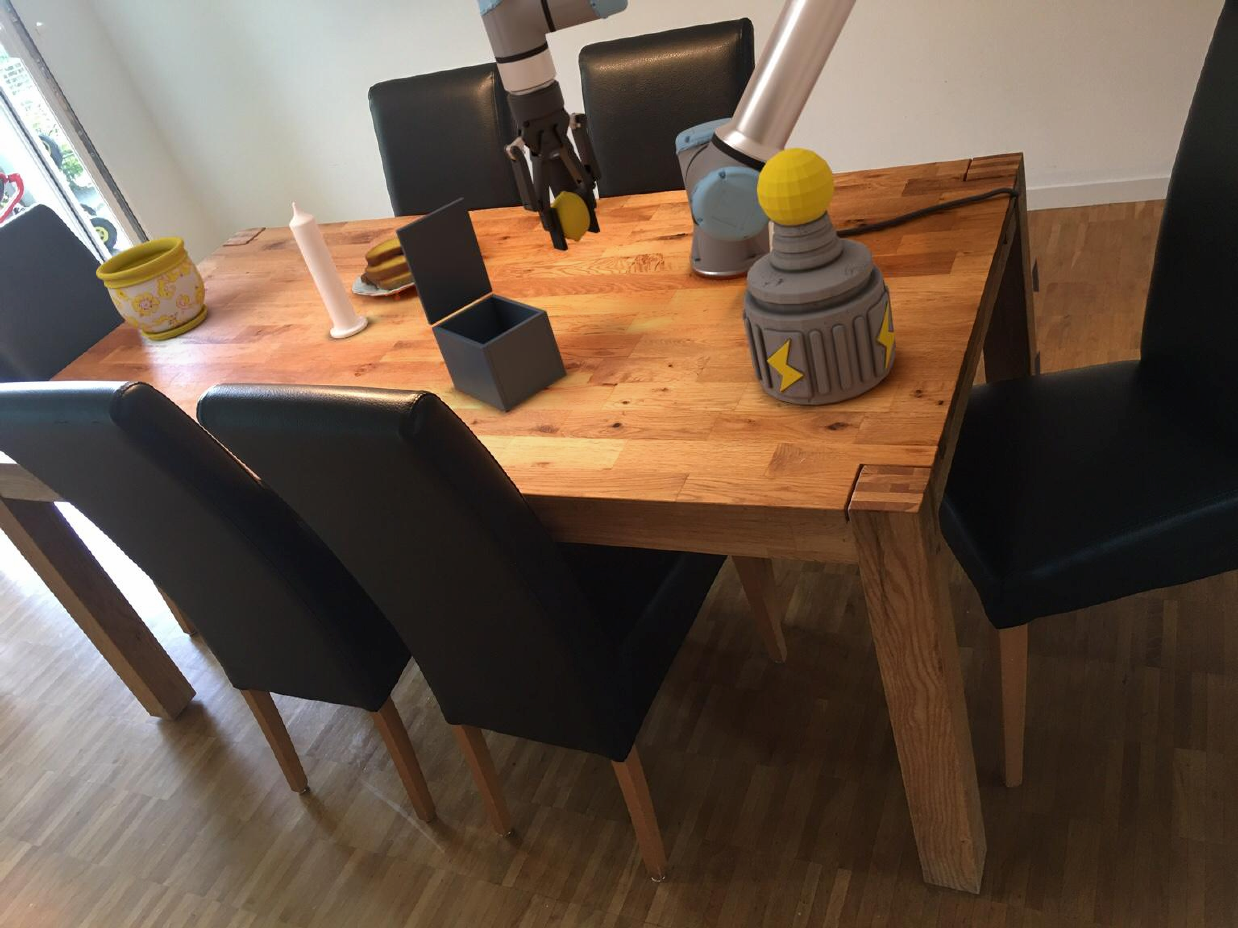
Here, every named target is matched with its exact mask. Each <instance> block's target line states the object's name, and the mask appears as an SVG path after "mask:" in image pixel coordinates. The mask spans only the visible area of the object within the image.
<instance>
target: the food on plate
mask: <svg viewBox="0 0 1238 928" xmlns="http://www.w3.org/2000/svg"><path fill="white" fill-rule="evenodd" d="M364 258H365V261H366V262H367V265H366V267H365V268H364V271H363V272H362V273H361V274H359V275H358V277H357V278H356V279H355V280H354V282H353V284H352V285H351V290H350V291H351V293H353V294H354V293H355V294H358V295H363V296H370V297H374V298H375V297H378V296H381V297H382V296H385V297H387V296H390V295H394V296H395V297H394V299H395V300H399V299H400V298H401V296H400V295H399V292H401V291H405V290H406V289H408V288H411V287H415V284H414V281H413V278H412V276H411V273H410V270H409V267H408V264H407V262H406V259H405V256H404V253H403V250H402V248H401V245H400V242H399V239H398V236H396V237H395V236H394V237H392V238H389V239H387V240H384V241H382V242H381V243H378V244H377V245H375V246H373V247H372V248H370V249H369V250H368V251H367V252H366V253H365V256H364ZM365 303H366V302H365V301H363V302H362V304H365Z"/></svg>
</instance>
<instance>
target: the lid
mask: <svg viewBox="0 0 1238 928" xmlns="http://www.w3.org/2000/svg"><path fill="white" fill-rule="evenodd" d="M395 233H396V237H398V239H399V242H400V245H401V248H402V250H403V253H404V256H405V259H406V262H407V264H408V267H409V270H410V273H411V276H412V278H413V281H414V284H415V285H414V287H415V290H416V293H417V295H418V298H419V300H420V304H421V307H422V309H423V312H424V314H425V318H426V320H427V323H428V325H430V326H433V325H435V324H438V322H439V323H440V321H442V320H445V319H447V318H449V316H451V315H454V314H456V312H457V313H458V311H461V310H463V309H465V308H467V307H468V306H470V305H471V304H472V303H473V304H474V303H476V301H479V300H481V299H483V298H485V296H488V295H490V294H492V293H493V292H494V290H493V287H492V283H491V280H490V278H489V274H488V270H487V267H486V263H485V260H484V257H483V254H482V251H481V248H480V244H479V241H478V238H477V234H476V232H475V229H474V225H473V222H472V218H471V215H470V212H469V208H468V205H467V201H466V198H464V197H459V198H458V199H456V200H454V201H451V202H450V203H447V204H446V205H444V206H442V207H440V208H437V209H436V210H433V211H431V212H429V213H427V214H425V215H423V216H421V217H419V218H418V219H415V220H414V221H411V222H409V223H408V224H405V225H403V226H401V227H400V228H397V229H395Z"/></svg>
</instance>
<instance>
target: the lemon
mask: <svg viewBox="0 0 1238 928" xmlns="http://www.w3.org/2000/svg"><path fill="white" fill-rule="evenodd" d="M551 207H553V208H556V210H557V213H558V216H559V220H560V223H561V226H562V230H563V233H564V236H565V239H566V240H571V241H574V242H576V243H579V242H580V241H581V239H582V237H584V236H585V235H586V234H587V232H588V231H587V230H588V228H589V225H590V216H589V212H588V209H587V206H586V204H585V203H584V201H583V200H582V198H581V197H579V196H578V195H577V194H574V193H571V192H566V191H562V192H561V194H560V195H559V196H557V197H556V199H554V200H553V202H552V204H551Z"/></svg>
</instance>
